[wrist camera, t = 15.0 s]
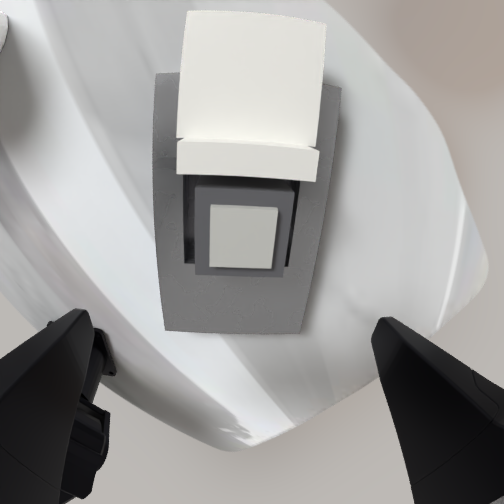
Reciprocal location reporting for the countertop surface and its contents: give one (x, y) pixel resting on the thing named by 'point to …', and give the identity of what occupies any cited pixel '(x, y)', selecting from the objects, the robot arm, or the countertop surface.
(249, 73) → the panel
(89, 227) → the countertop surface
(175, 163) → the socket plate
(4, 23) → the white cup
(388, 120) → the countertop surface
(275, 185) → the plug
